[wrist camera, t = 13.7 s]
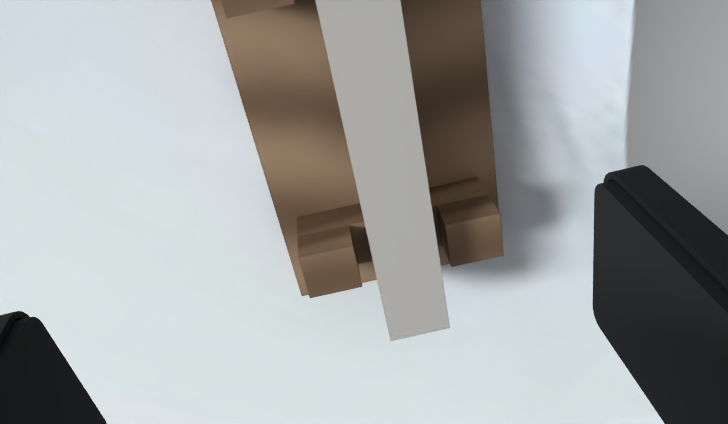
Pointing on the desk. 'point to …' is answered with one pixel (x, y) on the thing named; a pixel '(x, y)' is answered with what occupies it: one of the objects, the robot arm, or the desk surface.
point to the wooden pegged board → (328, 142)
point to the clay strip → (387, 158)
